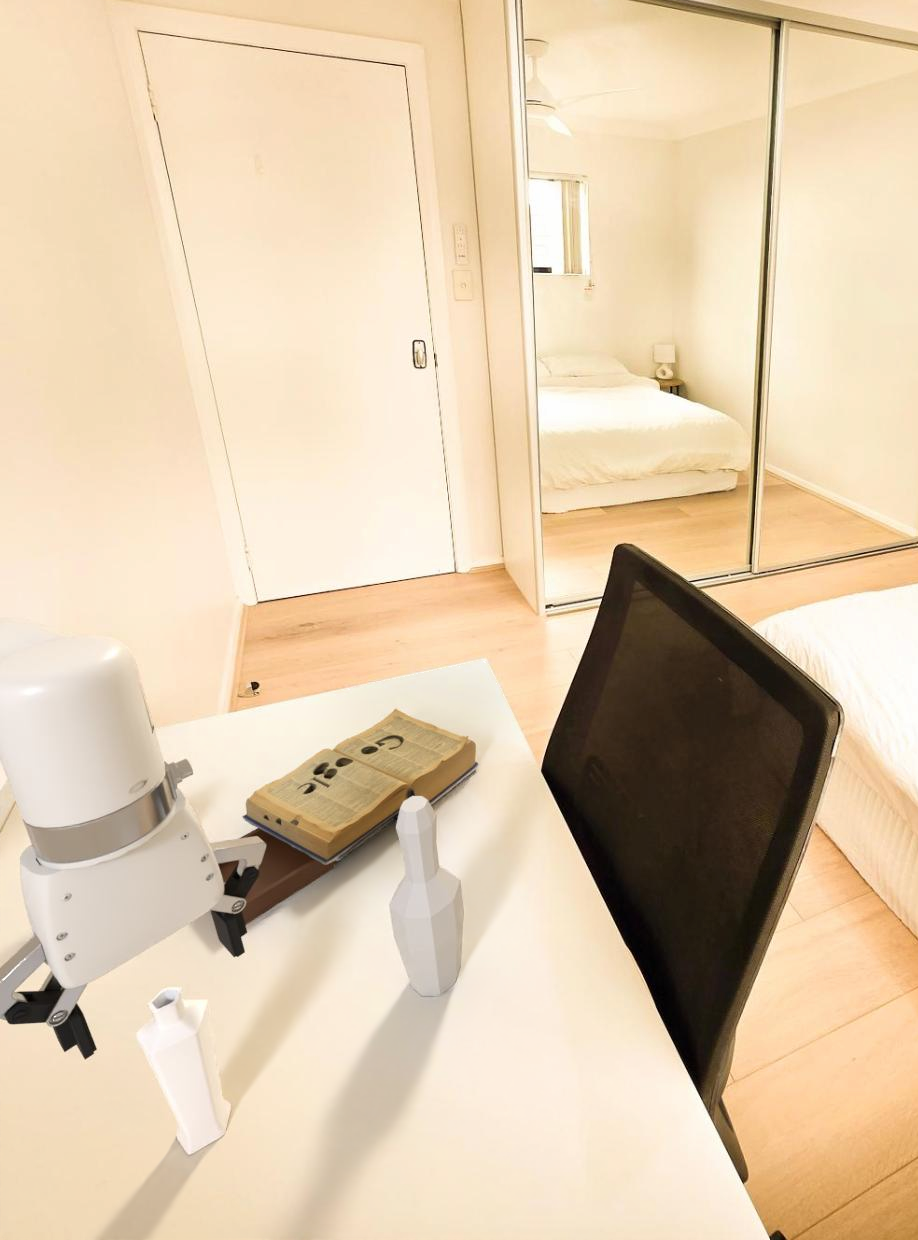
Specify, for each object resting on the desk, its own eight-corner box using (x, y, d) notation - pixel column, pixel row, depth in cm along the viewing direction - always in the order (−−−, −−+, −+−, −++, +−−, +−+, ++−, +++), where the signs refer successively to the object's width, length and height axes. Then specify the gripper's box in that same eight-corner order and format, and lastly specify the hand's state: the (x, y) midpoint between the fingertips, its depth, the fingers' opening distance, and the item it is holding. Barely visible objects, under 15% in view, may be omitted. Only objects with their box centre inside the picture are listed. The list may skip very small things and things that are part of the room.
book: (401, 735, 110) (397, 703, 108) (480, 767, 103) (477, 733, 101) (244, 835, 89) (236, 797, 87) (330, 883, 82) (323, 843, 80)
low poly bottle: (480, 958, 74) (463, 789, 67) (443, 1013, 68) (420, 835, 61) (429, 942, 75) (408, 775, 68) (389, 994, 70) (361, 819, 62)
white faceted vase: (179, 1109, 59) (138, 982, 54) (239, 1090, 61) (203, 965, 56) (162, 1168, 55) (115, 1037, 50) (225, 1147, 57) (186, 1017, 52)
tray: (235, 931, 76) (231, 913, 75) (192, 883, 82) (187, 866, 81) (335, 867, 85) (332, 850, 84) (289, 828, 91) (285, 812, 90)
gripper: (219, 732, 56) (259, 894, 62) (-92, 866, 43) (-4, 1058, 48) (264, 766, 52) (302, 937, 58) (-63, 926, 39) (29, 1128, 44)
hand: (163, 992), depth 53 cm, fingers open, 9 cm apart
